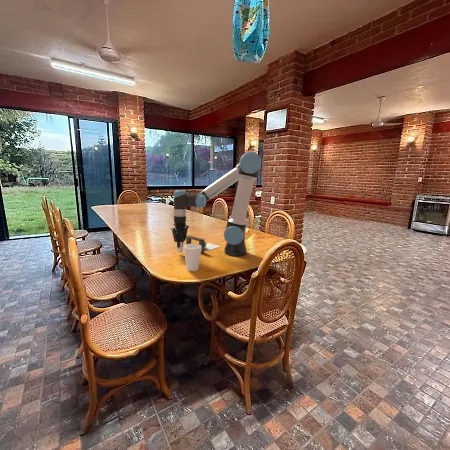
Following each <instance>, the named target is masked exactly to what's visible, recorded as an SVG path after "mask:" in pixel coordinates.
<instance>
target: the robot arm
mask: <svg viewBox="0 0 450 450" xmlns="http://www.w3.org/2000/svg"><path fill="white" fill-rule="evenodd" d="M261 165H262V158H261V156H260V155H259V154H258V153H257V152H255V151H246V152H245V153H243V155H241V157H240V159H239V162H238V163H237V164H236V166H235V167H234V168H233V169H232V170H229V172H227V173H225V174H224V175H223V176H221V177H220V178H219V179H217V180H216V181H214V182H213V183H212V184H209V186H207V187H206V188H205V189H203V190H201V191H200V192H198V193H196V194H190V193H187V191H186V190H184V189H183V190H181V189H180V190H178V189H177V190H174V192H173V227H170V230H171V232H172V237H173V242H175V243H176V247H177V253H180V254H181V253H183V248H184V243H185V242H186V236H188V235H187V234H188V231H189V227H190V226H189V225H187V223H186V222H187V216H186V215H187V207H192V208H205V207H206V204H207V203H208V202H209V201H211V199H213V198H214V197H216V196H218V195H219V194H220V193H222V192H224V191H225V190H227V188H229V187H230V186H232V185H234V184H235V183H236V182H238V183H237V187H236V188H237V189H236V193H235V197H234V203H233V207H232V209H231V211H232V212H231V215H230V218H228V219H227V220H226V221H227V222H226V227H225V229H224V232H223V237H224V238H223V239H224V240H225V241H226V243H225V247H224V251H223V253H224V254H225V255H227V256H232V257H243V256H246V255H247V253H248V249H247V246H246V242H245V241H246V228H247V221H246V218H247V213H248V210H249V205H250V200H251V196H252V191H253V187H254V184H255V181H256V180H257V179H258V178H259V174H260V170H261V169H260V168H261V167H262V166H261Z"/></svg>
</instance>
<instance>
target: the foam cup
mask: <svg viewBox="0 0 450 450" xmlns="http://www.w3.org/2000/svg"><path fill="white" fill-rule="evenodd" d="M201 251H202V246H201V245H199V243H198V244H197V243H191V244H187V245H186V244H185V245H184V244H183V252H184V260H185V267H186V271H188V272H197V271H198V270H199V267H200V260H201V254H202V253H201Z"/></svg>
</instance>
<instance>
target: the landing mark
mask: <svg viewBox="0 0 450 450" xmlns="http://www.w3.org/2000/svg"><path fill="white" fill-rule="evenodd" d="M221 247H222V246H221V245H217V244H213V243H210V242H209V243H207V242H206V247H205V248H204V250H208V251H212V250H215V249H218V248H221Z"/></svg>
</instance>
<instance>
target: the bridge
mask: <svg viewBox="0 0 450 450" xmlns="http://www.w3.org/2000/svg"><path fill="white" fill-rule="evenodd" d="M192 240H193V241H197V242H198V244H199V245H201V246H202V251H201V254H204V253H205V249H204V241H205V239H204V238H201V237H197V236H194V235H192V234H191V235H190V234H189V235H187V236H186V240H185V245H187V244H192Z"/></svg>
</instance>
